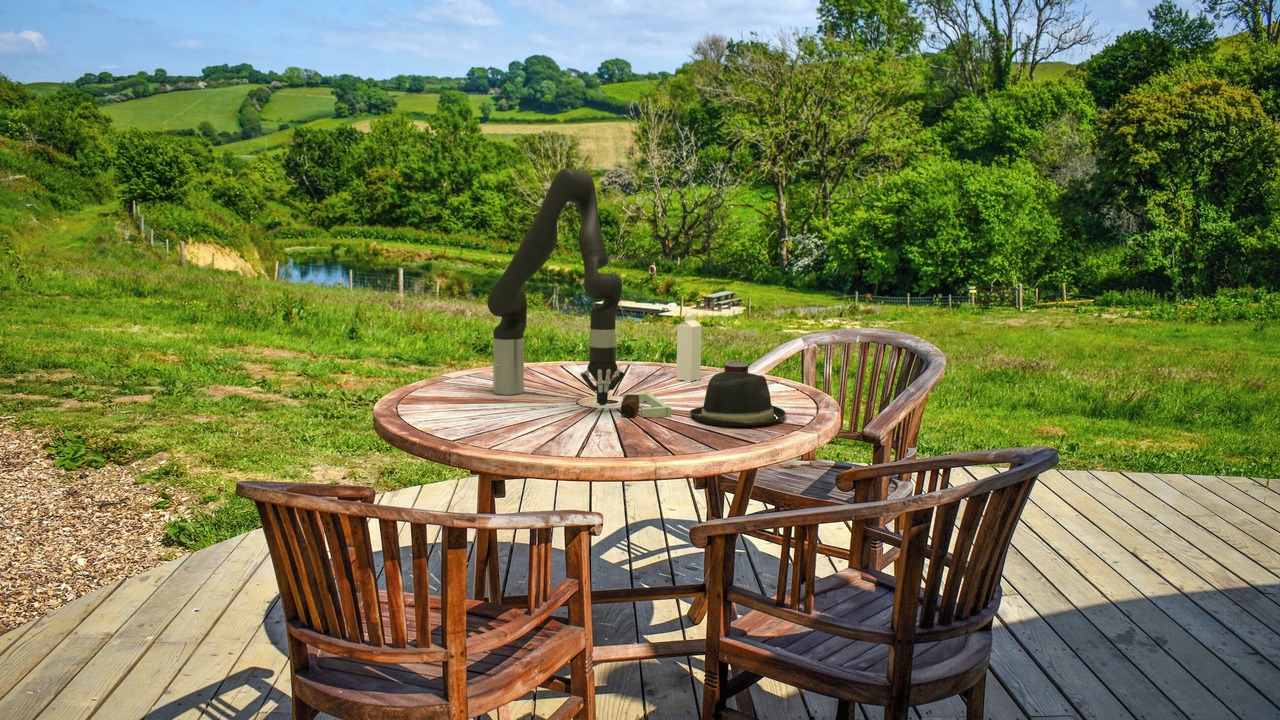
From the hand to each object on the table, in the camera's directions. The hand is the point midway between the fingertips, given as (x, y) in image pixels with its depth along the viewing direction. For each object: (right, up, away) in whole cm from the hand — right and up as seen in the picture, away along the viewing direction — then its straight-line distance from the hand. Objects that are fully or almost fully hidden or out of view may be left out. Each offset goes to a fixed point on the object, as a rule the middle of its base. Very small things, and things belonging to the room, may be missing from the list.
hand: (602, 404), depth 244 cm
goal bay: (+13, -1, +3) cm, 13 cm away
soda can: (+39, 0, +14) cm, 42 cm away
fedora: (+38, -4, -5) cm, 39 cm away
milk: (+27, +6, +49) cm, 56 cm away
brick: (+8, -3, -2) cm, 9 cm away
